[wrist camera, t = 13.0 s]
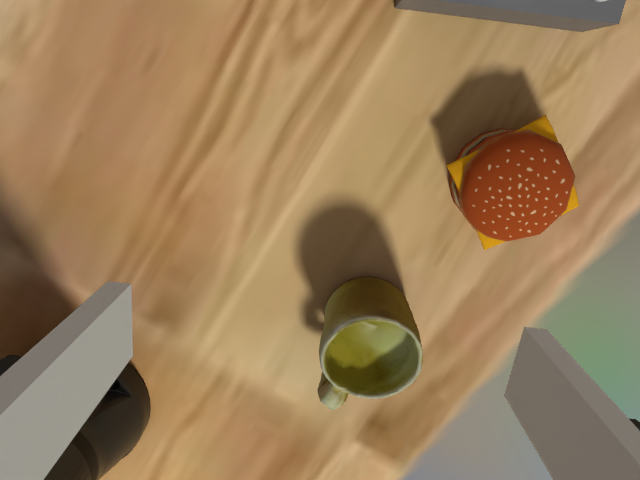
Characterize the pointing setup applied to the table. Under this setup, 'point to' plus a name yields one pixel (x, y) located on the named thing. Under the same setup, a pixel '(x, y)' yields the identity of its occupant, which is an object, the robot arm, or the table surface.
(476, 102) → the table surface
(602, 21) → the camera body
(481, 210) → the hamburger
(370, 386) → the mug
